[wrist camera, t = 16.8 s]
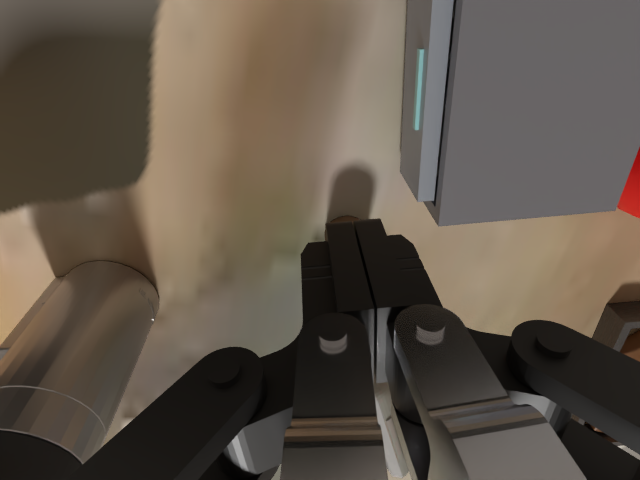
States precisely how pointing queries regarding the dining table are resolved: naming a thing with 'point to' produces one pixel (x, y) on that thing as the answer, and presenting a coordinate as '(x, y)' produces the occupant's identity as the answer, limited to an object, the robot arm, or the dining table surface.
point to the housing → (538, 109)
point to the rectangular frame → (615, 337)
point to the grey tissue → (389, 431)
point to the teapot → (632, 190)
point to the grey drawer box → (425, 92)
